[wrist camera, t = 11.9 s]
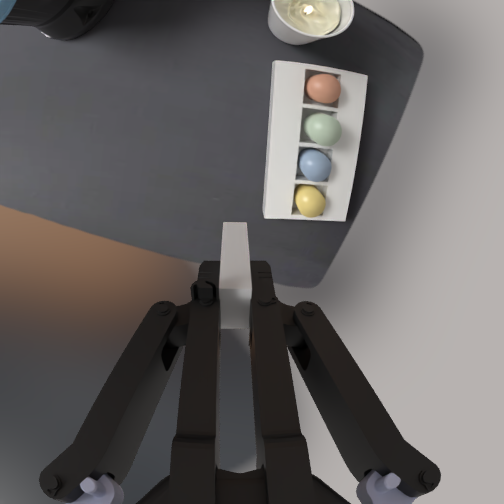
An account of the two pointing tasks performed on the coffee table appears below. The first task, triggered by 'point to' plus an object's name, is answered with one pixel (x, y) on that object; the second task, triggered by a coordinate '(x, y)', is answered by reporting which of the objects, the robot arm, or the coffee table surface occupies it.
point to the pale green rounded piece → (322, 129)
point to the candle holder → (309, 19)
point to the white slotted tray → (310, 140)
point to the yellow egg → (309, 200)
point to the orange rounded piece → (322, 88)
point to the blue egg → (314, 164)
